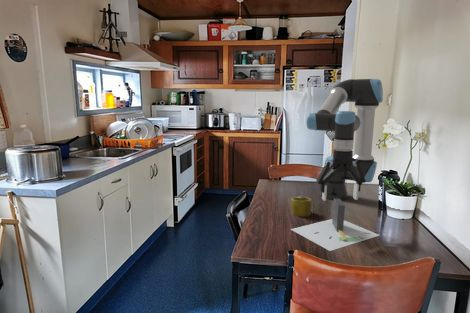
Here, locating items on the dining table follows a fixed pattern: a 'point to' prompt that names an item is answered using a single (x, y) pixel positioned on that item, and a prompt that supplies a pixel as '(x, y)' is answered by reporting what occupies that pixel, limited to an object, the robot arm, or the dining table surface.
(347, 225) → the board
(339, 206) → the gray bar
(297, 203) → the mug
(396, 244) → the dining table surface
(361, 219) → the dining table surface
